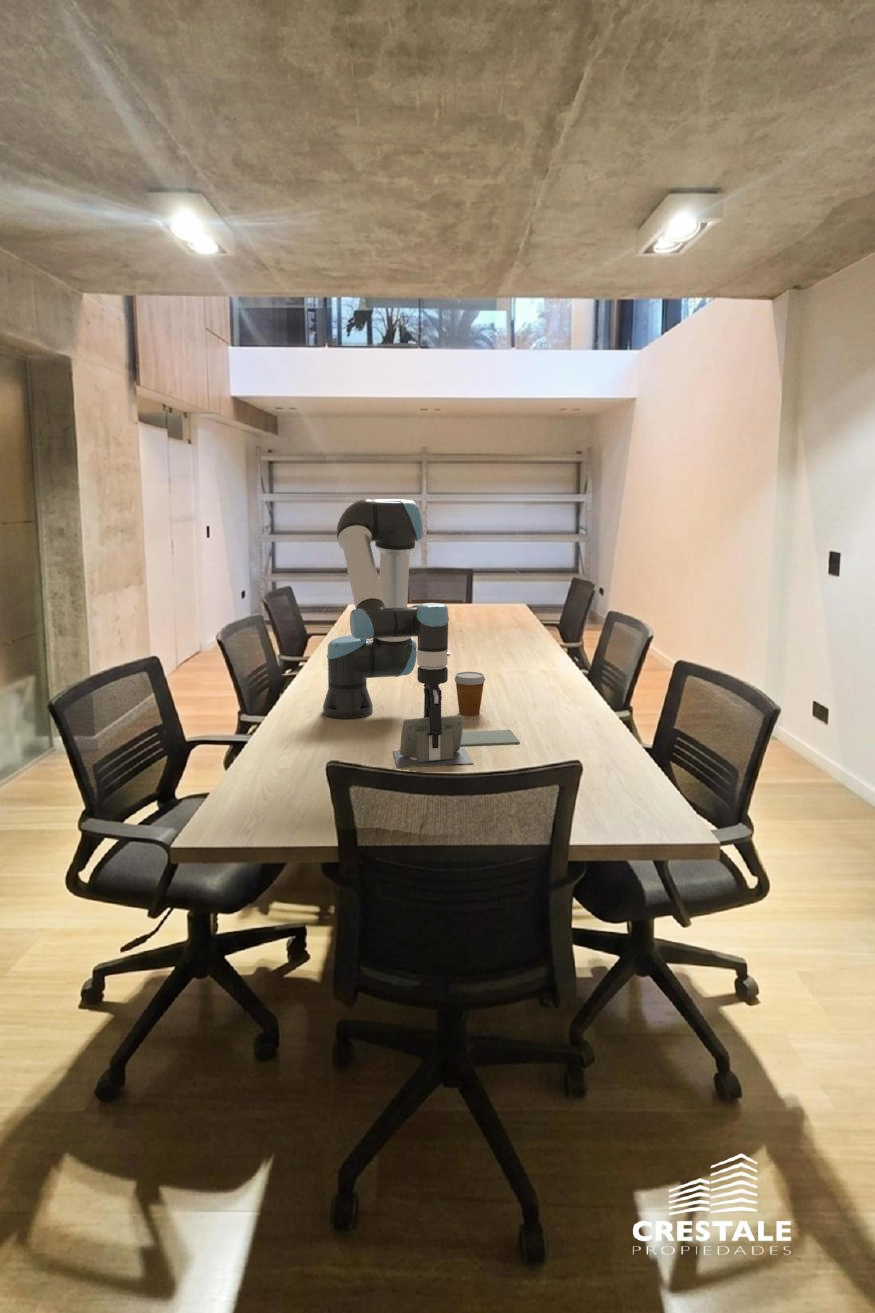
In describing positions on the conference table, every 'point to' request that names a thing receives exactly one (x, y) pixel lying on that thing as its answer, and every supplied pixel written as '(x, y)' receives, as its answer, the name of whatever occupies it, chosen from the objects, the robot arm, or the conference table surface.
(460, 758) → the gray plate
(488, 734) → the side mat
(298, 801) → the conference table surface
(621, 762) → the conference table surface
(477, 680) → the disposable coffee cup
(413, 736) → the digital clock
